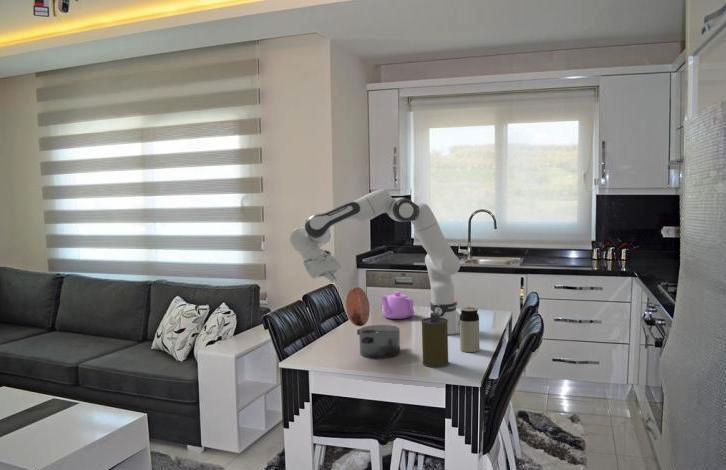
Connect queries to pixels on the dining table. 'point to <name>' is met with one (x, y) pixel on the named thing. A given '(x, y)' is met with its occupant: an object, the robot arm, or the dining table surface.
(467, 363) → the dining table surface
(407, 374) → the dining table surface
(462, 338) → the travel mug
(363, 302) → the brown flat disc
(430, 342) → the canister
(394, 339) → the cooker pot
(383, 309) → the teapot
